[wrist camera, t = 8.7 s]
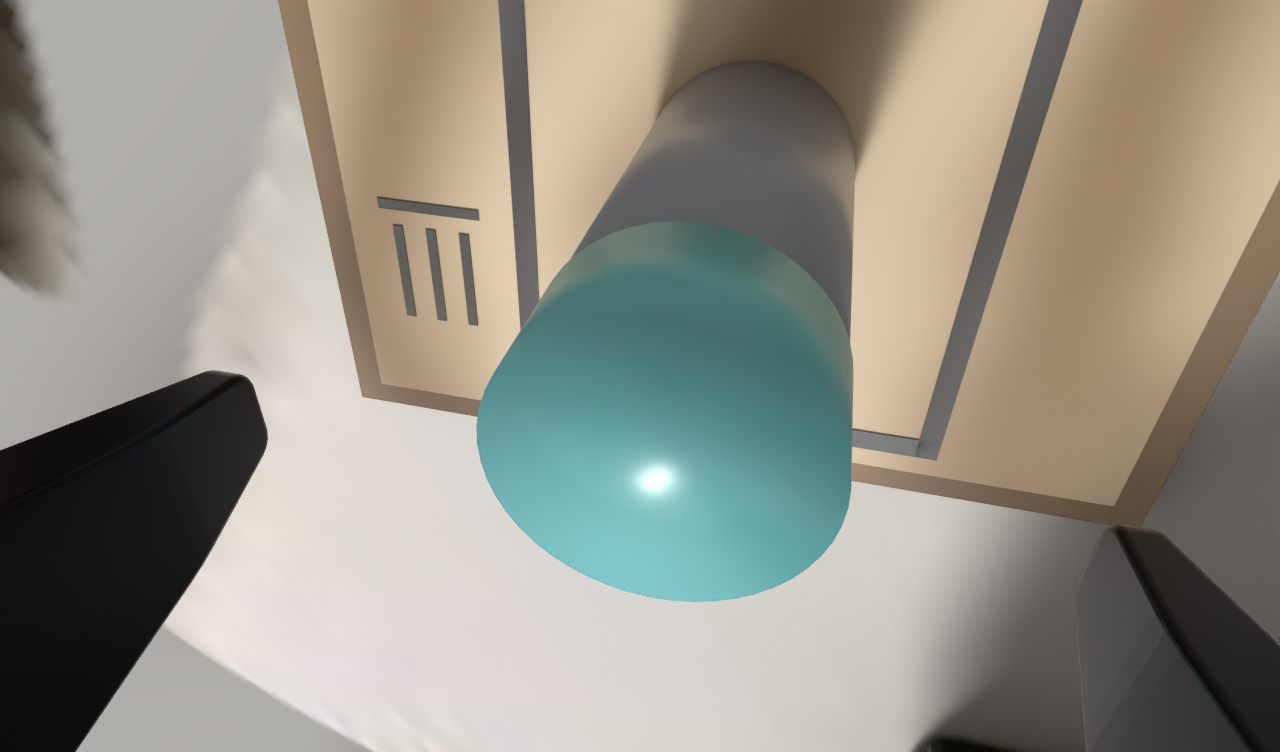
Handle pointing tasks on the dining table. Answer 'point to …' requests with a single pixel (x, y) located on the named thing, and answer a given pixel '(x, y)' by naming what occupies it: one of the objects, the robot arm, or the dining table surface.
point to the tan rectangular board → (883, 205)
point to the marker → (694, 354)
